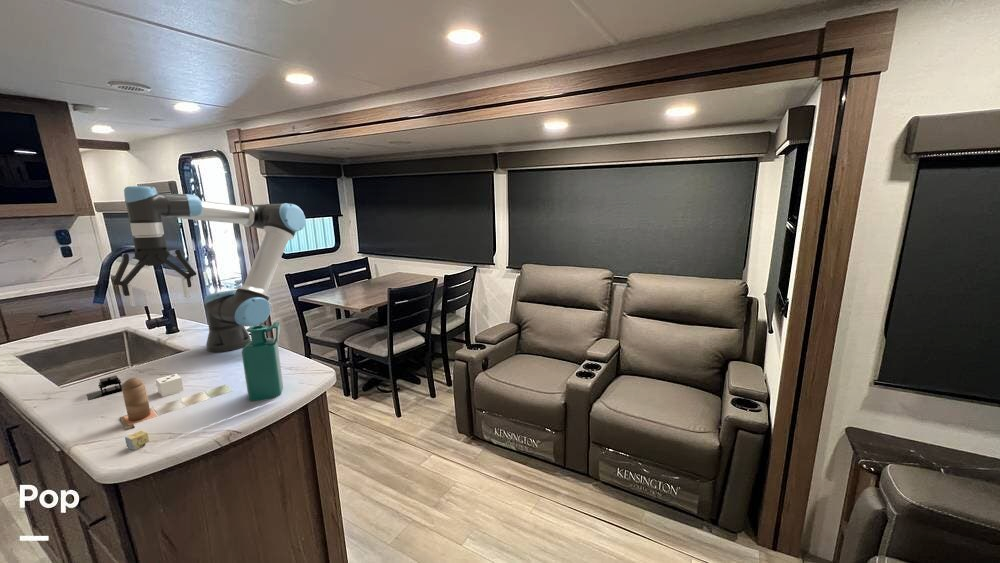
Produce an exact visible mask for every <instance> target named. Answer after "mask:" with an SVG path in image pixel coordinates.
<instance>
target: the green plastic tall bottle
mask: <svg viewBox="0 0 1000 563" xmlns="http://www.w3.org/2000/svg"><path fill="white" fill-rule="evenodd" d="M273 329H275V338H271V337H268V338H267V335H266V334H267V333H268V332H270V331H272V330H273ZM246 331H247V332H248V333H250V339H251V341H249V342H247V343H246V344H245V346H244V347H242V349H241V359H242V364H243V370H244V379H245V384H246V391H247V392H246V393H247V397H248V398H247V399H248V401H250V402H258V401H263V400H269V399H275V398H277V397H279V396H281V395H282V393H283V390H284V382H283V375H282V366H281V358H280V352H279V351H280V350H279V345H278V339H279V336H280V332H281V323H280V321H279V322H278V321H276V322H275V321H274V323H273V324H271V325H270V326H268V325H265V324H262V325H261V324H260V325H257V326H249V327H248V328H246Z"/></svg>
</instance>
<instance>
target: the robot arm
mask: <svg viewBox="0 0 1000 563" xmlns="http://www.w3.org/2000/svg"><path fill="white" fill-rule="evenodd" d="M123 194H124V195H123V196H124V203H125V206H126V209H127V210H126V211H127V214H128V220H129V224H130V231H131V235H132V237H134V238H132V241H133V247H134V251H135V252H134V253H125V252H123V253H121V262H120V264H119V266H118V268H117V270H116V273H115V275H114V278H113V279H112V281H111V282H112V284H113V285H115V286H121V290H122V294H123V296H124V297H128V300H129V304H130V306H131V307H136V301H135V297H134V292H133V287H132V285H131V284H130V282H132V280H133V279H134V278H135V276H136V275H137V274H138V273H139V272H140V271H141V270H142V269H143V268H144V267H145V266H146V267H152V266H155V265H156V266H162V265H164V264H165V265H166V266H168V267H169V268H171V269H172V270H173V271H175V272H177V274H179V275H181V276H182V277H181V283H182V288H183V295H184V297H185V298H186V299H189V298H190V291H189V290H190V289H189V288H191V287H192V280H191V278H192V277H195V276H196V275H197V271H195V269H193V267H192V266H191V265H190V263H189V262H187V260H186V259H185V258H184V257H183V256H182V253H181V250H179V249H174V250H173V249H172V250H168V247H167V242H166V237H164V236H163V235H165V232H164V226H163V220H162V218H171V219H183V220H195V221H206V222H214V223H215V222H217V223H225V224H226V223H228V224H229V223H230V224H239V225H242V226H243V227H246V228H254V229H260V230H261V229H262V230H264V231H265V234H264V236H263V239H262V241H261V243H260V246H259V249H258V251H257V253H256V255H255V256H254V260H253V262H252V264H251V267H250V270H249V272H248V274H247V276H246V279H245V282H244V284H243V285H242V286H239V287H237V289H233V290H226V291H225V290H223V291H219V292H214V293H209V294H207V295H205V296H204V300H203V301H204V304H203V305H204V309H205V314H206V318H207V320H206V321H207V325H208V330H209V331H208V335H207V339H206V344H205V346H206V351H208V352H212V353H222V352H223V353H224V352H229V351H235V350H238V349H241V348H242V349H243V347H244V346H245V344H246V343H247V342H249V341H251V335H250V334H249V332H248V331H247V328H246V327H253V326H259V325H261V324H262V325H263V324H264V323H265V322H266V320H267V319H268V318H269V316H270V314H271V310H272V308H271V306H270V305H271V303H270V301H269V299H270V295H269V294H268V291H269V289H270V286H271V283H272V281H273V279H274V276H275V274H276V271H277V269H278V267H279V264H280V262H281V260H282V256H283V254H284V251H285V249H286V247H287V245H288V241H291V240H293V239H294V238H295V235H296V233H297V232H299V231H301V230H303V229H304V227H305V225H306V216H305V214H304V211H303V210H302V209H301V208H300V206H298V205H296V204H294V203H287V202H285V203H262V204H248V203H245V204H243V205H237V204H231V203H230V204H229V203H223V202H214V201H207V200H206V201H205V200H201V198H200V197H199V196H198V195H196V194H188V193H159V192H158V191H157V188H156V187H154V186H144V185H143V186H142V185H141V186H140V185H138V186H137V185H136V186H135V185H133V186H131V185H129V186H126V187H125V188H124V190H123ZM170 255H171V256H172V257H175V258H176V259H177V260H178V262H179V263H180V264H181V265H182V266H183V268H184V269H185V270H186V271H187V272H188V273H187V272H186V271H184V270H183V269H181V268H180V267H179V266H178V265H176V264H175V263H173V262H172V261H170V260H168V258H169V257H170ZM133 258H135V259H136V260H137V261H138V262H137V263H136V265H134V266H133V268H132V269H131V270H130V271H129V272H128V274H127V275H126V276H125V277H124V278H123V276H124V274H125V272H126V270H127V267H128V265H129V262H130V261H132V259H133ZM122 278H123V280H122Z"/></svg>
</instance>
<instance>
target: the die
mask: <svg viewBox="0 0 1000 563" xmlns="http://www.w3.org/2000/svg"><path fill="white" fill-rule="evenodd" d="M155 382H156V386H157V391H158V393H159V395H160V396H161V397H162V398H164V397H167V396H170V395H173V394H177V393H180V392H183V391H184V386H183V381H182V377H181V376H180V375H179V374H178V373H173V374H170V375H167V376H163V377H159V378H156V379H155Z"/></svg>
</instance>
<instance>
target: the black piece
mask: <svg viewBox="0 0 1000 563" xmlns="http://www.w3.org/2000/svg"><path fill="white" fill-rule="evenodd" d="M111 386H112V387H111ZM123 387H124V384H122V381H121V379H120V378H119V377H118V376H117V375H112V376H111V375H110V376H108V377H104V378H100V379H99V382H98V389H100V390H99V391H95V392H94V391H93V392H92V393H87V394H86V397H87V401H93V400H97V399H99V398H102V397H107V396H111V395H115V394H118V393H121V392H122V388H123ZM122 393H123V392H122Z"/></svg>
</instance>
